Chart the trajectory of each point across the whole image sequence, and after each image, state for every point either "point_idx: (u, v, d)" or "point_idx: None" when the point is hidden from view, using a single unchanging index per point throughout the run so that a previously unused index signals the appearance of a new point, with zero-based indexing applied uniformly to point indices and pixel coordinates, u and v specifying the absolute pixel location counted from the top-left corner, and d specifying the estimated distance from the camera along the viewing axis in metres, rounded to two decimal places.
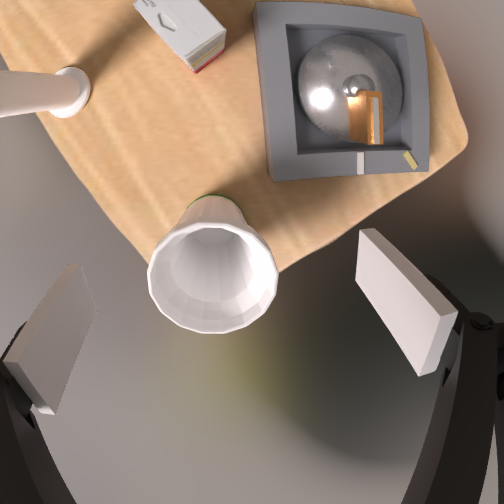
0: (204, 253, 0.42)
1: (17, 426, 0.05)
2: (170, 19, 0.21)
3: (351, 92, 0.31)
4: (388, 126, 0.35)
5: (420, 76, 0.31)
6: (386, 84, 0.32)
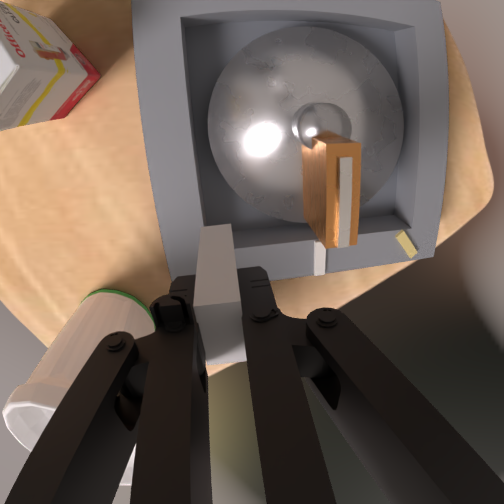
0: None
1: (194, 393, 0.07)
2: None
3: (303, 140, 0.18)
4: (374, 190, 0.22)
5: (436, 101, 0.18)
6: (376, 115, 0.19)
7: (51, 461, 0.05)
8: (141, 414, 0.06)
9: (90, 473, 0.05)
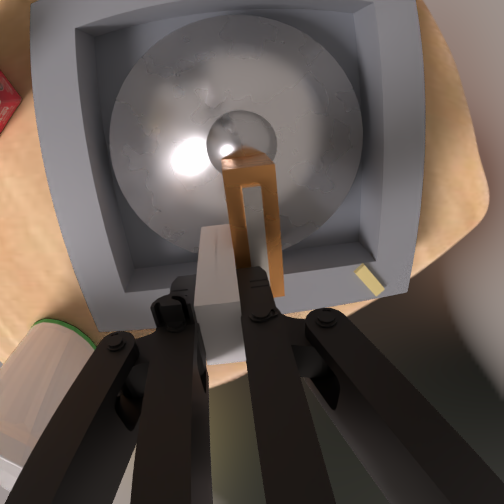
0: None
1: (194, 393, 0.07)
2: None
3: (212, 163, 0.14)
4: (326, 215, 0.18)
5: (407, 98, 0.15)
6: (322, 119, 0.16)
7: (51, 461, 0.05)
8: (142, 414, 0.06)
9: (90, 473, 0.05)
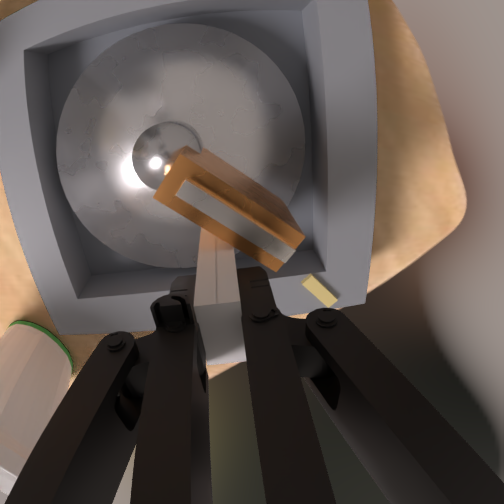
0: None
1: (194, 393, 0.07)
2: None
3: None
4: (299, 132, 0.16)
5: (355, 96, 0.14)
6: (211, 70, 0.14)
7: (52, 461, 0.05)
8: (141, 414, 0.06)
9: (90, 473, 0.05)
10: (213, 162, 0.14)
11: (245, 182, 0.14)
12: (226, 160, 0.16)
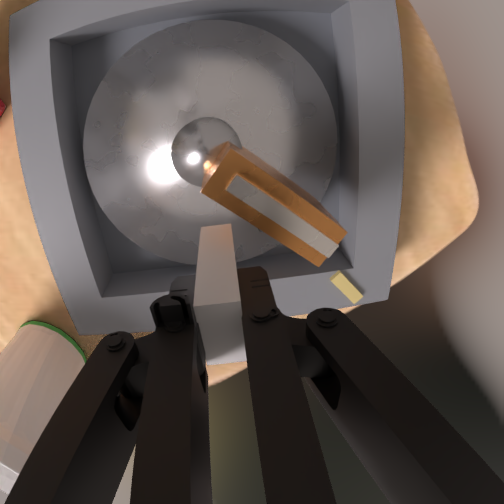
0: None
1: (194, 393, 0.07)
2: None
3: None
4: (332, 131, 0.16)
5: (384, 99, 0.14)
6: (248, 68, 0.14)
7: (51, 461, 0.05)
8: (141, 414, 0.06)
9: (90, 473, 0.05)
10: (255, 158, 0.14)
11: (285, 179, 0.15)
12: (261, 157, 0.16)
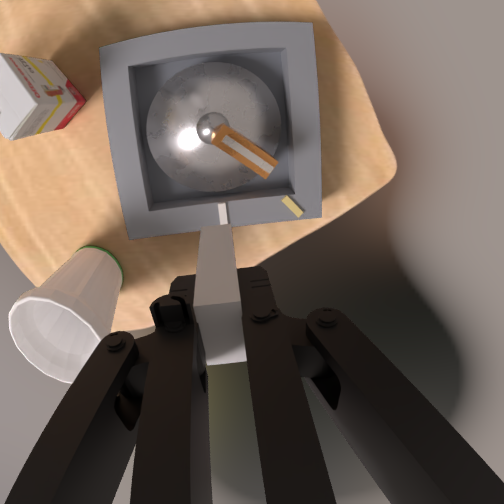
0: None
1: (194, 393, 0.07)
2: None
3: None
4: (278, 118, 0.30)
5: (306, 99, 0.29)
6: (233, 87, 0.29)
7: (51, 461, 0.05)
8: (141, 414, 0.06)
9: (90, 473, 0.05)
10: (235, 131, 0.28)
11: (250, 141, 0.29)
12: (240, 132, 0.31)
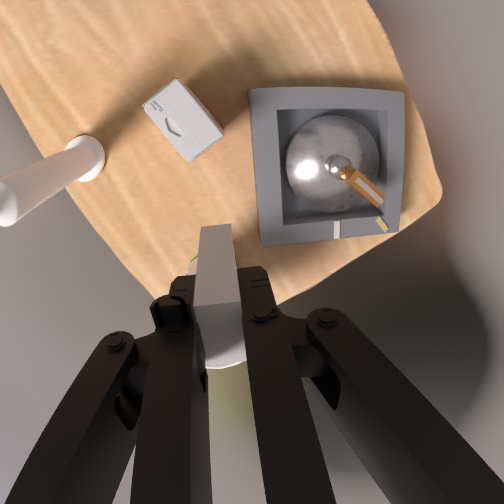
0: None
1: (194, 393, 0.07)
2: (176, 125, 0.30)
3: (338, 179, 0.40)
4: (377, 161, 0.42)
5: (397, 149, 0.40)
6: (351, 137, 0.40)
7: (51, 461, 0.05)
8: (141, 414, 0.06)
9: (90, 473, 0.05)
10: None
11: None
12: None
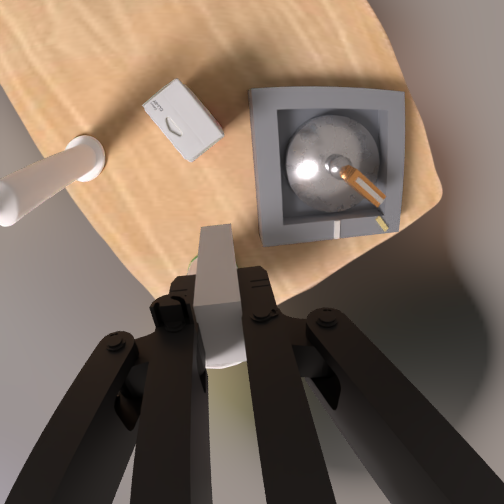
0: None
1: (194, 393, 0.07)
2: (176, 125, 0.30)
3: (338, 179, 0.40)
4: (377, 161, 0.42)
5: (397, 149, 0.40)
6: (351, 136, 0.40)
7: (51, 461, 0.05)
8: (141, 414, 0.06)
9: (90, 473, 0.05)
10: None
11: None
12: None
